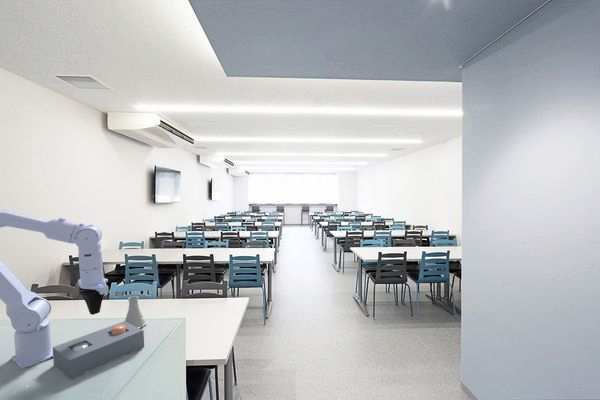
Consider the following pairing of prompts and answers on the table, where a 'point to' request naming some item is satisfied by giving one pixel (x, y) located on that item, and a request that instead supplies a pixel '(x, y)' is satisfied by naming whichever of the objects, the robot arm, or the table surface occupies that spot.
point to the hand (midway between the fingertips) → (94, 313)
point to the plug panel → (97, 349)
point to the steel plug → (80, 347)
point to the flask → (134, 313)
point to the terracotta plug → (118, 330)
